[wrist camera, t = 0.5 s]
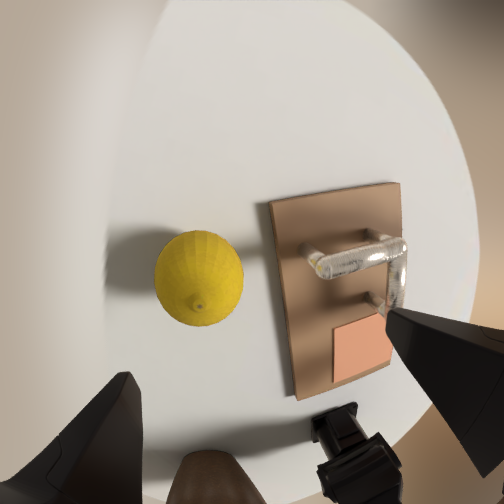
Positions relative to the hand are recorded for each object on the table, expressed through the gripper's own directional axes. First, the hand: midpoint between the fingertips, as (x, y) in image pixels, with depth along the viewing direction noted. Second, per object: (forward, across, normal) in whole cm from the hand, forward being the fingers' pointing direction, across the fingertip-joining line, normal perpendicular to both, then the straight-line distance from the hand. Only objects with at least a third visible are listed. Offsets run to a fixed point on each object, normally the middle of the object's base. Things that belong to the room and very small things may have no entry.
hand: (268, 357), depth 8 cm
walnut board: (+13, -10, +8) cm, 18 cm away
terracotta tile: (+13, -12, +13) cm, 22 cm away
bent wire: (+13, -9, +4) cm, 17 cm away
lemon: (+14, +2, 0) cm, 14 cm away
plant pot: (+14, +8, +30) cm, 34 cm away
